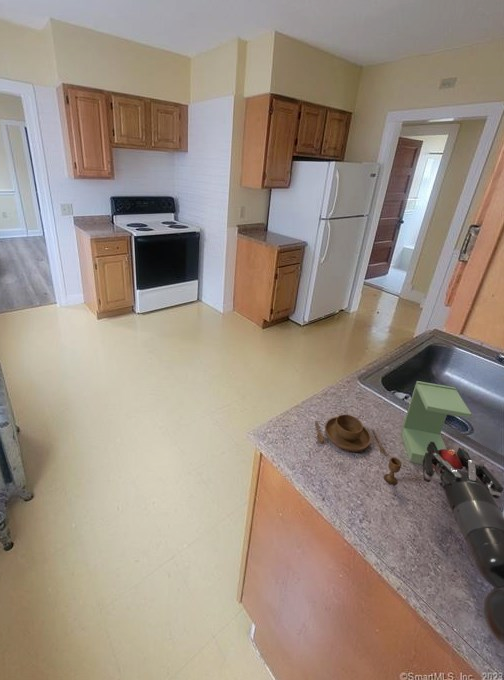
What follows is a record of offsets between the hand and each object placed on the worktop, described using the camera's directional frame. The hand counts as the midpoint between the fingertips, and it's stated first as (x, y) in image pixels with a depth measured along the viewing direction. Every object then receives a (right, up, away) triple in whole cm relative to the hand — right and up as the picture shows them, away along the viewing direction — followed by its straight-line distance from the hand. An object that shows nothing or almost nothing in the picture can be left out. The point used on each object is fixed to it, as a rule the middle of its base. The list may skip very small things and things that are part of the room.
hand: (445, 447), depth 74 cm
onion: (-1, -7, 0) cm, 7 cm away
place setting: (-17, -6, +12) cm, 21 cm away
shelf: (+2, -6, +11) cm, 13 cm away
